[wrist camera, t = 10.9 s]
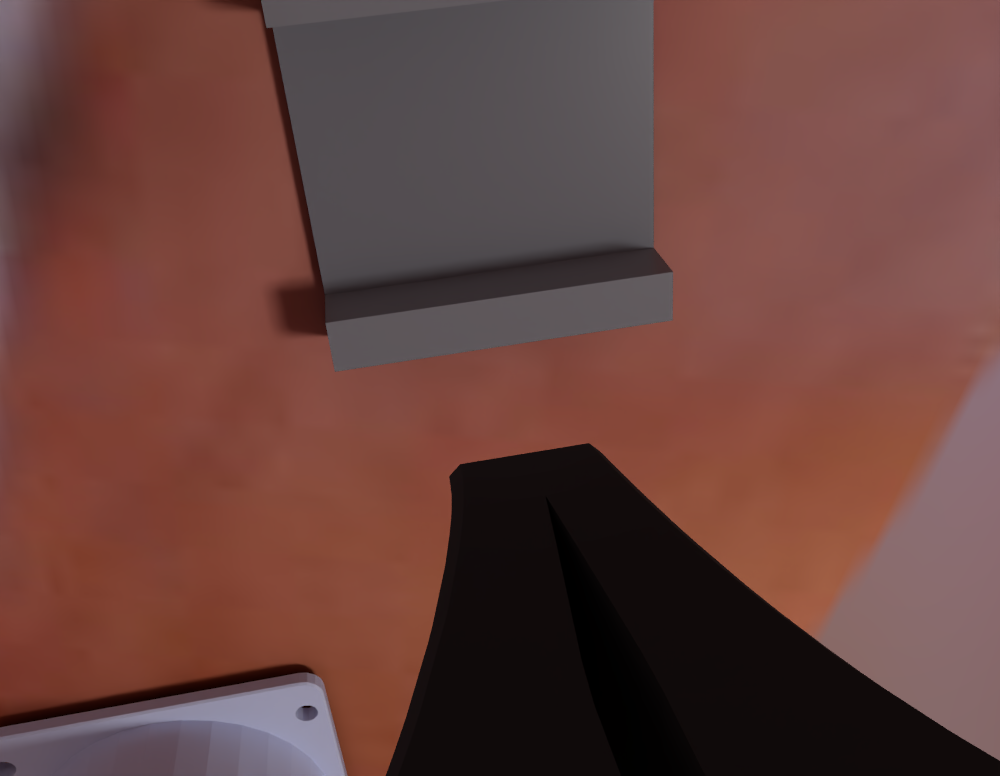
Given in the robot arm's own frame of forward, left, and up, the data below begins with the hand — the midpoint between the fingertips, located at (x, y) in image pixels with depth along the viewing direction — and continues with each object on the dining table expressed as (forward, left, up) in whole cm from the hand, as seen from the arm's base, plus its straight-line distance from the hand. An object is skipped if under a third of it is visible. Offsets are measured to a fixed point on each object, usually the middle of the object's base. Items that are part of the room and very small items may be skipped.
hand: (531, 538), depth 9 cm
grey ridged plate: (+1, -1, -10) cm, 10 cm away
